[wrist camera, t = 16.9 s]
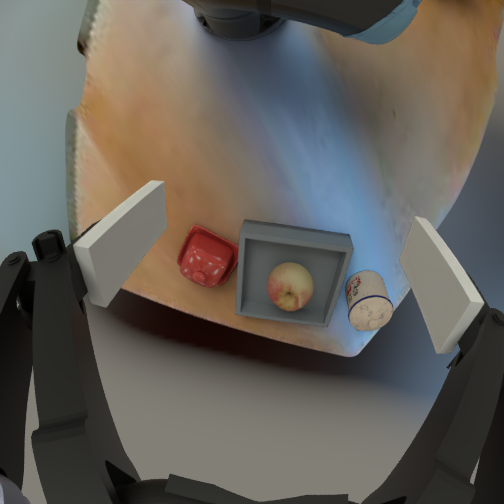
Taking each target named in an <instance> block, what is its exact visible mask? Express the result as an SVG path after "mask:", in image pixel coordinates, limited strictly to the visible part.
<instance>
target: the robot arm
mask: <svg viewBox="0 0 504 504" xmlns="http://www.w3.org/2000/svg"><path fill="white" fill-rule="evenodd" d="M182 1H184V2H186V3H187V4H189V5H190V6H192V7H193V8H194V13H195V15H196V18H197V19H198V21H199V22H200V24H201V25H202V26H203V27H204V28H205V29H207V30H208V31H209V32H211V33H213V34H214V35H216V36H218V37H221V38H224V39H227V40H234V41H246V40H253V39H257V38H260V37H262V36H265V35H267V34H269V33H270V32H272V31H273V30H275V29H276V28H277V27H278V26H279V25H280V24H281V23H282V22H283V21H284V19H289V20H293V21H297V22H301V23H305V24H309V25H313V26H316V27H320V28H323V29H326V30H330V31H333V32H336V33H339V34H340V35H341V36H343V37H346V38H347V37H348V38H354V39H357V40H360V41H363V42H366V43H369V44H376V45H379V44H385V43H388V42H390V41H392V40H393V39H395V38H396V37H398V36H399V35H400V34H401V33H402V32H403V31H404V30H405V29H406V28H407V26H408V25H409V24H410V23H411V21H412V20H413V18H414V17H415V15H416V13H417V11H418V10H417V6H418V5H419V4H420V3H421V2H422V0H182ZM166 228H167V220H166V206H165V190H164V181H153V180H151V181H150V182H148V183H147V184H146V185H144V186H143V187H142V188H140V189H139V190H138V191H137V192H135V193H134V194H133V195H131V196H130V197H129V198H128V199H126V200H125V201H124V202H123V203H121V204H120V205H119V206H118V207H116V208H115V209H114V210H113V211H112V212H110V213H109V214H108V215H107V216H106V217H104V218H103V219H101V220H99V221H97V222H96V223H94V224H92V225H91V226H90V227H89V228H87V229H86V231H84V232H83V233H82V234H81V236H78V237H77V238H76V239H75V240H74V241H73V242H72V243H71V244H70V245H68V246H67V247H65V244H64V240H63V236H62V233H61V231H59V230H49V231H46V232H43V233H41V234H39V235H38V236H37V237H35V239H34V240H33V241H32V246H33V249H34V252H35V255H36V257H37V260H38V261H33V262H29V260H28V257H27V255H26V253H25V252H23V251H19V252H13V253H12V254H10V255H9V256H8V257H7V258H5V260H4V261H3V262H2V264H1V266H0V504H30V502H29V500H28V499H27V498H26V497H25V496H23V494H22V492H21V490H22V484H23V475H24V444H25V443H24V441H25V422H26V411H27V401H28V393H29V386H30V379H31V373H32V367H33V372H34V385H35V394H36V404H37V411H38V418H39V428H38V429H37V430H35V431H33V433H32V436H31V439H32V448H33V453H34V458H35V461H36V466H37V470H38V474H39V478H40V482H41V485H42V488H43V492H44V495H45V498H46V501H47V504H358V503H355V502H351V501H348V494H342V495H341V494H340V495H304V496H299V497H293V498H287V499H281V500H274V501H265V502H257V501H253V500H250V499H248V498H245V497H243V496H240V495H237V494H235V493H232V492H230V491H227V490H225V489H223V488H220V487H218V486H216V485H213V484H209V483H204V482H200V481H196V480H191V479H188V478H184V477H180V476H176V475H173V474H170V475H169V478H168V479H151V480H143V481H141V479H140V477H139V475H138V473H137V471H136V469H135V467H134V466H133V464H132V462H131V461H130V459H129V458H128V456H127V454H126V453H125V451H124V448H123V446H122V443H121V441H120V438H119V436H118V433H117V430H116V427H115V424H114V422H113V419H112V416H111V413H110V410H109V407H108V403H107V400H106V397H105V393H104V390H103V386H102V383H101V379H100V375H99V372H98V368H97V363H96V359H95V355H94V350H93V346H92V341H91V336H90V331H89V325H88V320H87V313H86V307H85V303H84V301H83V297H84V296H85V295H86V294H87V292H88V295H89V298H90V300H91V303H92V304H96V305H99V306H102V307H107V306H108V304H109V303H110V301H111V300H112V299H113V297H114V296H115V294H116V293H117V292H118V290H119V289H120V288H121V286H122V285H123V284H124V282H125V281H126V280H127V278H128V277H129V275H130V274H131V273H132V272H133V270H134V269H135V268H136V266H137V265H138V264H139V262H140V261H141V260H142V258H143V257H144V256H145V255H146V253H147V252H148V251H149V250H150V248H151V247H152V246H153V244H154V243H155V242H156V241H157V239H158V238H159V237H160V236H161V235H162V233H163V232H164V231H165V230H166ZM399 261H400V263H401V265H402V268H403V270H404V272H405V274H406V276H407V279H408V281H409V283H410V286H411V288H412V290H413V293H414V295H415V297H416V300H417V302H418V304H419V307H420V310H421V312H422V315H423V317H424V320H425V322H426V325H427V328H428V330H429V333H430V336H431V339H432V342H433V345H434V348H435V351H436V353H451V351H452V350H453V348H454V347H455V346H456V345H457V343H458V345H459V347H460V351H459V352H458V354H457V355H456V356H455V358H454V359H453V360H452V361H451V363H450V364H449V365H448V366H447V368H448V369H449V367H450V366H451V369H450V371H449V373H448V376H447V378H446V380H445V382H444V385H443V387H442V389H441V391H440V393H439V395H438V397H437V399H436V401H435V403H434V405H433V407H432V409H431V410H430V412H429V414H428V416H427V418H426V420H425V421H424V423H423V425H422V427H421V428H420V430H419V432H418V433H417V435H416V437H415V438H414V440H413V441H412V443H411V445H410V446H409V448H408V449H407V451H406V452H405V454H404V455H403V457H402V458H401V460H400V461H399V463H398V464H397V466H396V467H395V468H394V470H393V471H392V472H391V474H390V475H389V476H388V478H387V479H386V480H385V482H384V483H383V484H382V485H381V486H380V487H379V488H378V489H377V490H375V491H374V492H373V493H372V494H370V495H369V496H368V497H367V498H366V499H365V500H364V501H363V502H362V503H361V504H504V314H503V313H502V312H501V311H499V310H497V309H494V308H490V307H489V306H488V304H487V302H486V301H485V299H484V297H483V296H482V294H481V292H480V291H478V287H477V286H476V285H475V283H474V281H473V280H472V278H471V277H470V275H468V273H466V272H465V271H464V269H463V268H462V266H461V265H460V263H459V262H458V260H457V259H456V258H455V256H454V255H453V253H452V252H451V251H450V249H449V248H448V246H447V245H446V244H445V242H444V241H443V240H442V238H441V237H440V236H439V234H438V233H437V232H436V230H435V229H434V228H433V227H432V225H431V224H430V223H429V222H428V220H427V219H425V218H421V217H416V216H414V219H413V222H412V225H411V228H410V231H409V234H408V237H407V240H406V243H405V245H404V248H403V251H402V253H401V256H400V259H399ZM16 301H17V302H18V304H19V306H18V308H17V302H16ZM479 457H480V459H479ZM478 459H479V464H478V469H477V473H476V477H475V481H474V485H473V484H471V483H470V478H471V475H472V473H473V471H474V468H475V466H476V464H477V462H478Z"/></svg>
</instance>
